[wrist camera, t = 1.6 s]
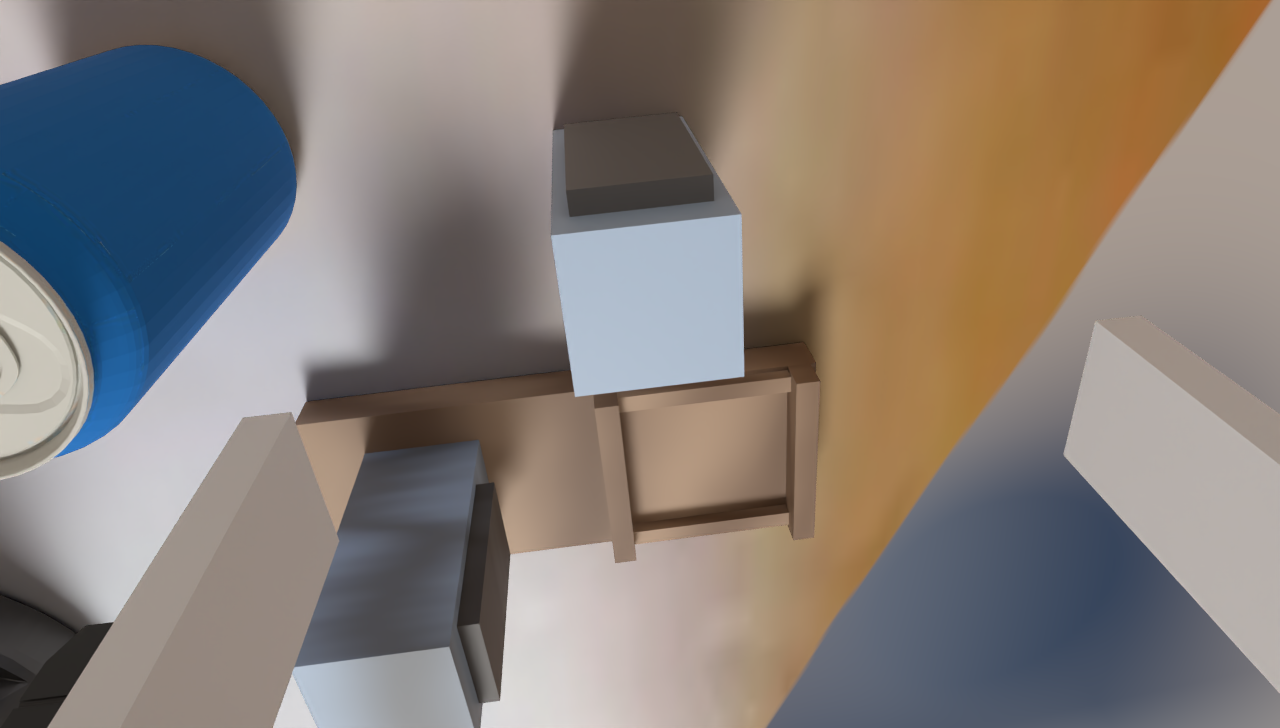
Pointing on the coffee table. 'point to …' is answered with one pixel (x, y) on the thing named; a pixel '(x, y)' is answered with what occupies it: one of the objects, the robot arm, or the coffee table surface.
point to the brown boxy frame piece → (522, 512)
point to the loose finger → (645, 256)
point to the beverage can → (122, 232)
